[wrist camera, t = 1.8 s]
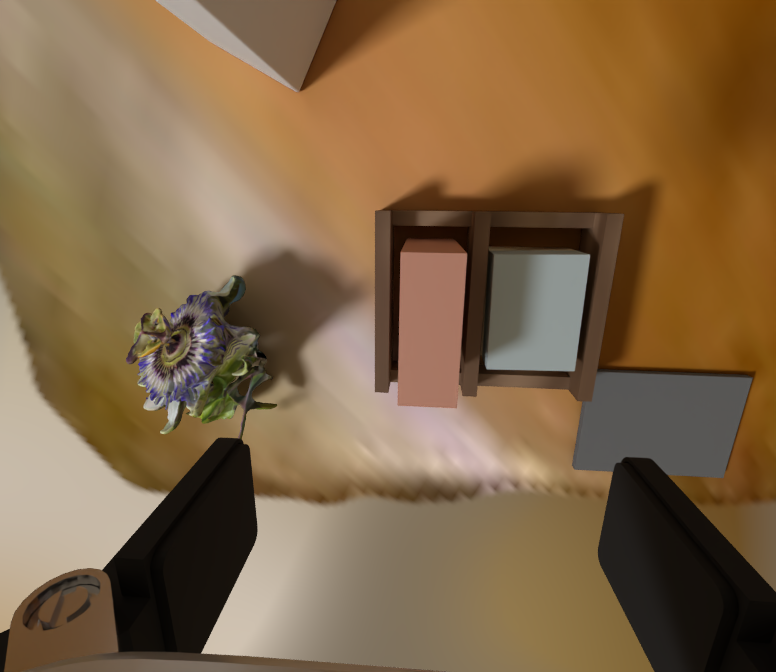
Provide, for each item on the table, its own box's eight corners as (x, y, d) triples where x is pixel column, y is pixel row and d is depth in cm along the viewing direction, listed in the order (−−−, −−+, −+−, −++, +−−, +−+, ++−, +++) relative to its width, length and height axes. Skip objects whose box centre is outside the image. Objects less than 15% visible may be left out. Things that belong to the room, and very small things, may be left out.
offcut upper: (576, 250, 29) (590, 254, 27) (563, 358, 31) (574, 371, 29) (488, 250, 30) (494, 254, 27) (482, 356, 32) (486, 369, 30)
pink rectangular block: (453, 238, 31) (467, 253, 22) (447, 351, 34) (456, 408, 25) (407, 237, 32) (400, 252, 22) (404, 349, 34) (397, 405, 25)
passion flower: (235, 298, 40) (208, 237, 29) (317, 376, 40) (322, 346, 28) (134, 382, 36) (58, 351, 25) (223, 470, 36) (186, 478, 25)
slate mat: (747, 374, 33) (752, 377, 32) (718, 473, 35) (723, 477, 35) (588, 368, 34) (591, 371, 33) (572, 465, 36) (574, 469, 36)
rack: (598, 212, 30) (624, 213, 26) (572, 379, 34) (591, 401, 30) (381, 210, 31) (375, 210, 27) (380, 371, 35) (375, 392, 31)
